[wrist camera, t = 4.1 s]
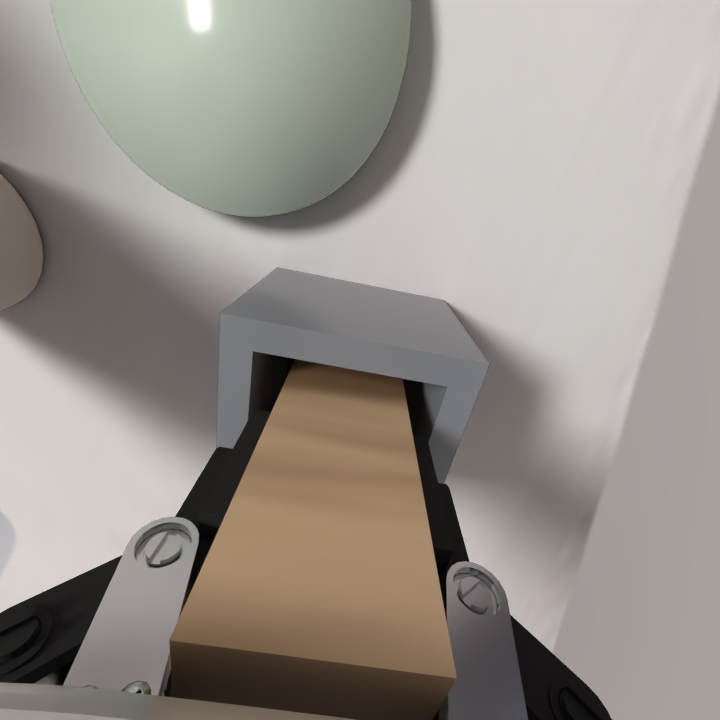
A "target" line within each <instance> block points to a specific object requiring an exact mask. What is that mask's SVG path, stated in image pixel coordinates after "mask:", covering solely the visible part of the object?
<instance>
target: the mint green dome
mask: <svg viewBox="0 0 720 720" xmlns="http://www.w3.org/2000/svg"><path fill="white" fill-rule="evenodd" d="M50 4H51V10H52V14H53V18H54V21H55V25H56V28H57V32H58V35H59V39H60V42H61V45H62V48H63V50H64V53H65V56H66V58H67V61H68V63H69V66H70V69H71V71H72V73H73V75H74V77H75V79H76V81H77V83H78V85H79V87H80V89H81V92H82V94H83V96H84V97H85V99H86V101H87V102H88V104H89V106H90V107H91V109H92V111H93V112H94V114H95V115H96V117H97V119H98V120H99V122H100V123H101V124H102V126H103V127H104V128H105V130H106V131H107V132H108V134H109V135H110V136H111V138H112V139H113V141H114V142H115V143H116V144H117V145H118V146H119V147H120V148H121V150H122V151H123V152H124V153H125V154H126V155H127V156H128V157H129V158H130V159H131V160H132V161H133V162H134V163H135V164H136V165H137V166H138V167H139V168H140V169H142V170H143V171H144V172H145V173H146V174H147V175H148V176H149V177H151V178H152V179H153V180H155V181H156V182H158V183H159V184H160V185H162V186H163V187H165V188H166V189H167V190H169V191H171V192H173V193H174V194H176V195H178V196H180V197H181V198H183V199H185V200H187V201H189V202H191V203H194V204H196V205H199V206H201V207H203V208H206V209H209V210H213V211H217V212H220V213H224V214H229V215H237V216H244V217H264V216H271V215H278V214H284V213H288V212H292V211H295V210H298V209H302V208H305V207H308V206H310V205H312V204H314V203H316V202H318V201H320V200H322V199H324V198H326V197H327V196H329V195H330V194H332V193H333V192H335V191H336V190H338V189H339V188H340V187H341V186H342V185H344V184H345V183H346V182H347V181H348V180H349V179H350V178H351V177H353V176H354V174H355V173H356V172H357V171H358V170H359V169H360V168H361V166H362V165H363V164H364V163H365V162H366V161H367V159H368V158H369V156H370V155H371V153H372V152H373V150H374V149H375V147H376V146H377V144H378V143H379V141H380V139H381V137H382V135H383V133H384V131H385V129H386V127H387V125H388V123H389V120H390V117H391V115H392V112H393V109H394V107H395V104H396V101H397V98H398V95H399V91H400V87H401V83H402V79H403V75H404V71H405V67H406V62H407V55H408V48H409V41H410V29H411V0H50Z"/></svg>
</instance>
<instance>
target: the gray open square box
mask: <svg viewBox="0 0 720 720" xmlns="http://www.w3.org/2000/svg"><path fill="white" fill-rule="evenodd" d="M288 358H293V359H298V360H304V361H309V362H315V363H320V364H326V365H331V366H336V367H342V368H347V369H353V370H358V371H364V372H369V373H375V374H380V375H386V376H391V377H397V378H402V379H403V385H404V390H405V396H406V401H407V407H408V412H409V418H410V423H411V429H412V434H413V437H419V438H425V439H427V440H428V443H429V447H430V451H431V456H432V460H433V464H434V468H435V472H436V477H437V481H438V483H442V484H444V481H445V479H446V476H447V474H448V471H449V468H450V466H451V463H452V461H453V458H454V455H455V453H456V450H457V448H458V445H459V443H460V440H461V437H462V435H463V432H464V430H465V427H466V424H467V422H468V419H469V417H470V414H471V411H472V409H473V406H474V404H475V401H476V398H477V396H478V393H479V391H480V388H481V385H482V383H483V380H484V378H485V375H486V373H487V370H488V367H489V365H490V364H489V362H488V361H487V359H486V358H485V356H484V355H483V354H482V352H481V351H480V349H479V348H478V347H477V345H476V344H475V342H474V341H473V340H472V338H471V337H470V335H469V334H468V333H467V331H466V330H465V328H464V327H463V326H462V324H461V323H460V321H459V320H458V319H457V317H456V316H455V314H454V313H453V312H452V310H451V309H450V307H449V306H448V305H447V303H446V302H445V300H440V299H434V298H429V297H424V296H419V295H414V294H409V293H404V292H399V291H394V290H389V289H384V288H379V287H374V286H369V285H364V284H359V283H353V282H348V281H343V280H338V279H333V278H328V277H323V276H318V275H313V274H308V273H303V272H298V271H293V270H288V269H283V268H278V267H277V268H276V269H275V270H273V271H272V272H271V273H270V274H268V275H267V276H266V277H265V278H263V279H262V280H261V281H260V282H258V283H257V284H256V285H255V286H253V287H252V288H251V289H250V290H248V291H247V292H246V293H245V294H243V295H242V296H241V297H240V298H238V299H237V300H236V301H235V302H233V303H232V304H231V305H230V306H228V307H227V308H226V309H225V310H223V311H222V312H221V313H220V331H219V367H218V403H217V439H216V449H217V448H218V447H225V448H231V449H233V448H234V446H235V444H236V442H237V440H238V438H239V436H240V434H241V433H242V431H243V429H244V427H245V425H246V423H247V421H248V419H249V418H250V416H251V414H252V412H253V410H254V409H257V410H263V411H269V412H272V409H273V407H274V405H275V403H276V400H277V398H278V396H279V394H280V392H281V389H282V387H283V385H284V383H285V380H286V373H287V365H288Z"/></svg>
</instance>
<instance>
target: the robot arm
mask: <svg viewBox="0 0 720 720" xmlns="http://www.w3.org/2000/svg"><path fill="white" fill-rule="evenodd" d="M270 414H271V412H269V411H263V410H257V409H254V410H253V412H252V414H251V416H250V418H249V419H248V421H247V423H246V425H245V427H244V429H243V431H242V433H241V434H240V436H239V438H238V440H237V442H236V444H235V446H234V448H233V449H231V448H225V447H218V448H217V449H216V450H215V451H214V453H213V455H212V456H211V458H210V460H209V461H208V463H207V465H206V466H205V468H204V470H203V471H202V473H201V475H200V476H199V478H198V480H197V481H196V483H195V485H194V486H193V488H192V490H191V491H190V493H189V495H188V496H187V498H186V500H185V501H184V503H183V505H182V506H181V508H180V510H179V511H178V513H177V515H176V516H175V517H167V518H161V519H158V520H155V521H152V522H151V523H149V524H147V525H145V526H144V527H142V528H141V529H140V530H139V531H138V532H137V533H135V534H134V535H133V537H132V538H131V540H130V541H129V543H128V544H127V547H126V549H125V551H124V553H123V555H122V556H120V557H118V558H115V559H113V560H111V561H109V562H107V563H105V564H103V565H100V566H98V567H96V568H94V569H92V570H90V571H88V572H85V573H83V574H81V575H79V576H77V577H75V578H73V579H70V580H68V581H66V582H64V583H62V584H60V585H58V586H55V587H53V588H51V589H49V590H47V591H45V592H42V593H40V594H38V595H36V596H34V597H32V598H30V599H27V600H25V601H23V602H21V603H19V604H17V605H15V606H12V607H10V608H8V609H7V610H5V611H3V612H1V613H0V720H356V719H348V718H340V717H332V716H324V715H316V714H308V713H299V712H291V711H283V710H275V709H267V708H258V707H250V706H242V705H234V704H225V703H216V702H208V701H199V700H191V699H182V698H174V697H173V695H172V678H171V661H170V645H169V640H170V637H171V635H172V633H173V631H174V628H175V626H176V624H177V622H178V619H179V617H180V615H181V613H182V611H183V608H184V606H185V604H186V602H187V599H188V597H189V595H190V593H191V590H192V588H193V586H194V584H195V582H196V579H197V577H198V575H199V573H200V570H201V568H202V566H203V564H204V561H205V559H206V557H207V555H208V552H209V550H210V548H211V546H212V544H213V541H214V539H215V537H216V535H217V532H218V530H219V528H220V526H221V523H222V521H223V519H224V517H225V514H226V512H227V510H228V508H229V506H230V503H231V501H232V499H233V497H234V494H235V492H236V490H237V488H238V485H239V483H240V481H241V479H242V476H243V474H244V472H245V470H246V468H247V465H248V463H249V461H250V459H251V456H252V454H253V452H254V450H255V447H256V445H257V443H258V441H259V438H260V436H261V434H262V432H263V430H264V427H265V425H266V423H267V421H268V418H269V416H270ZM413 440H414V445H415V451H416V456H417V462H418V467H419V473H420V478H421V484H422V489H423V495H424V500H425V506H426V511H427V517H428V522H429V528H430V533H431V539H432V544H433V550H434V555H435V561H436V566H437V572H438V577H439V583H440V588H441V594H442V599H443V605H444V610H445V616H446V621H447V627H448V632H449V638H450V643H451V649H452V654H453V660H454V665H455V671H456V676H457V679H456V681H455V682H454V684H453V686H452V687H451V689H450V691H449V693H448V694H447V696H446V698H445V699H444V701H443V703H442V705H441V706H440V708H439V710H438V711H437V713H436V715H435V717H434V718H433V720H612V719H611V718H610V715H609V713H608V711H607V710H606V708H605V707H604V705H603V704H602V702H601V701H600V699H599V698H598V696H597V695H596V694H595V693H594V692H593V691H592V690H591V689H590V688H589V687H588V686H587V685H586V684H585V683H584V682H583V681H582V680H581V679H580V678H579V677H577V676H576V675H575V674H574V673H573V672H572V671H571V670H570V669H569V668H567V666H566V665H564V664H563V663H562V662H561V661H560V660H559V659H558V658H556V656H555V655H554V654H552V653H551V652H550V651H549V650H548V649H547V648H546V647H545V646H544V645H543V644H542V643H540V642H539V641H538V640H537V639H536V638H535V637H534V636H533V635H532V634H531V633H530V632H528V631H527V630H526V629H525V628H524V627H523V626H522V625H521V624H520V623H519V622H518V621H516V620H515V619H514V618H513V617H512V616H511V615H510V612H509V606H508V600H507V597H506V594H505V591H504V589H503V587H502V586H501V584H500V582H499V581H498V580H497V579H496V578H495V576H494V575H493V574H492V573H491V572H489V571H488V570H487V569H485V568H484V567H482V566H480V565H478V564H476V563H473V562H469V559H468V555H467V552H466V548H465V544H464V541H463V537H462V533H461V530H460V526H459V522H458V519H457V515H456V511H455V508H454V504H453V500H452V497H451V493H450V490H449V487H448V486H447V485H446V484H442V483H438V481H437V477H436V472H435V468H434V464H433V460H432V456H431V451H430V447H429V443H428V440H427V439H425V438H419V437H413Z"/></svg>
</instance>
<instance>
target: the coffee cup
mask: <svg viewBox="0 0 720 720" xmlns="http://www.w3.org/2000/svg"><path fill="white" fill-rule="evenodd" d="M42 266H43V248H42V241H41V237H40V234H39V230H38V228H37V225H36V223H35V220H34V218H33V216H32V215H31V213H30V211H29V209H28V207H27V206H26V204H25V202H24V201H23V200H22V198H21V197H20V195H19V194H18V193H17V191H16V190H15V189H14V187H13V186H12V185H11V184H10V183H9V182H8V181H7V180H6V179H5V178H4V177H3V176H2V175H1V174H0V311H1V310H3V309H5V308H8V307H10V306H13V305H15V304H17V303H18V302H20V301H22V300H23V299H24V298H26V297H27V296H28V295H29V294H30V293H31V292H32V290H33V289H34V288H35V286H36V285H37V283H38V281H39V278H40V276H41V272H42Z"/></svg>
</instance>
